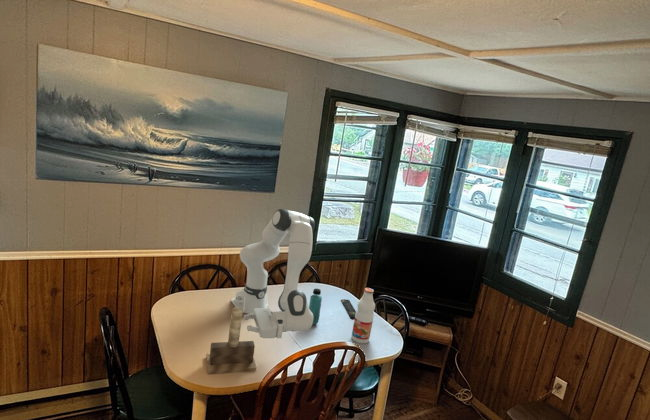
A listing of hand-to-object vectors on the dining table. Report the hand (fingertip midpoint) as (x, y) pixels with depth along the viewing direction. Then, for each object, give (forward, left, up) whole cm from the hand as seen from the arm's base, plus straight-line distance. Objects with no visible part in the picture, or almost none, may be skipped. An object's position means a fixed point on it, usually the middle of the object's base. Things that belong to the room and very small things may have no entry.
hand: (245, 322), depth 176 cm
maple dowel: (-2, -4, -10) cm, 11 cm away
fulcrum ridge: (-2, -4, -19) cm, 20 cm away
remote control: (-17, +85, -20) cm, 89 cm away
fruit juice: (+10, +65, -20) cm, 69 cm away
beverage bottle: (-14, +52, -20) cm, 57 cm away
